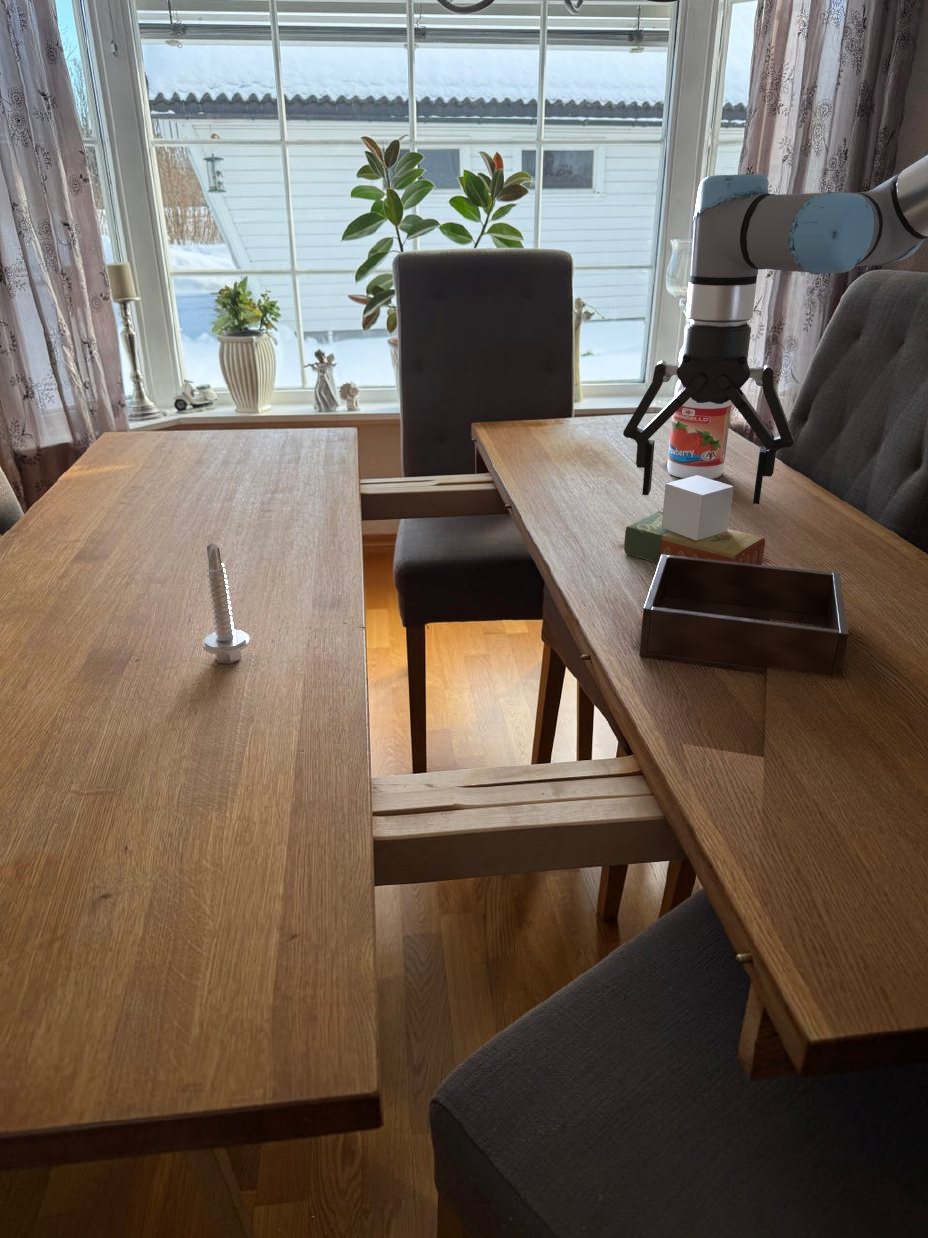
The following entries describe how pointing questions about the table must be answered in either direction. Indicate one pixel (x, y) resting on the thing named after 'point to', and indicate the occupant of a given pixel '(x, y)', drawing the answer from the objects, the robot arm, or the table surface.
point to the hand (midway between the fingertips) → (700, 496)
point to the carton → (690, 543)
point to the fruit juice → (698, 437)
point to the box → (744, 616)
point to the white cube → (697, 507)
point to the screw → (222, 615)
